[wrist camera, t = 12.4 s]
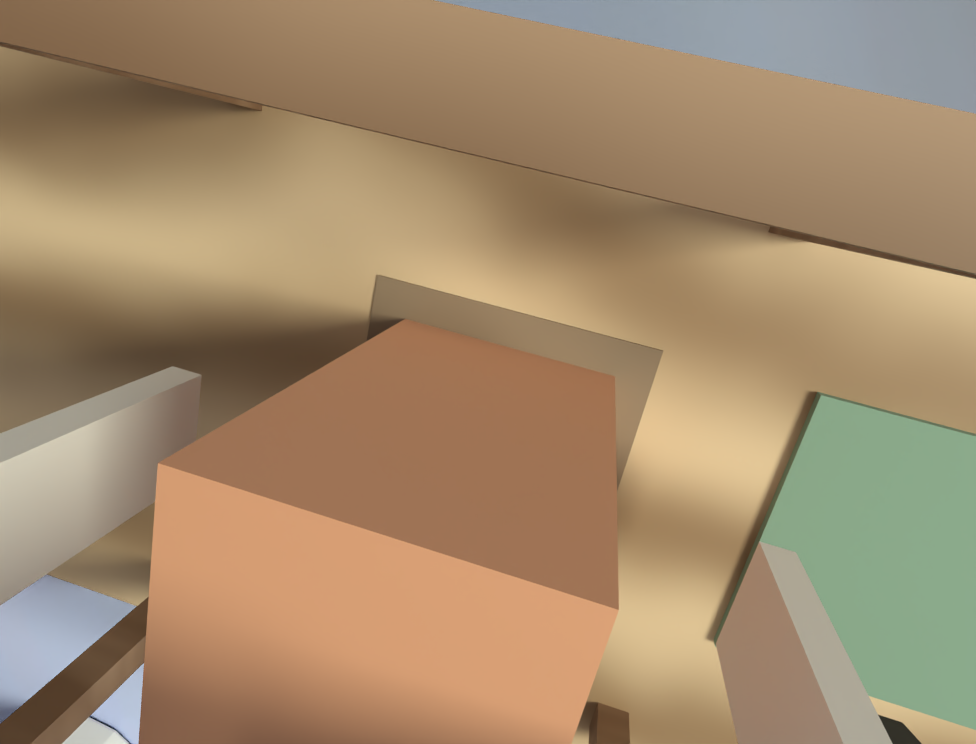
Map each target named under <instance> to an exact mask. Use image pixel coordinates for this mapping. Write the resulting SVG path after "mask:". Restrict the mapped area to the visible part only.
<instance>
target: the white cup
mask: <svg viewBox="0 0 976 744" xmlns="http://www.w3.org/2000/svg"><path fill="white" fill-rule="evenodd" d="M62 744H130V743H129V742H127V741H126V740H125V739H124V738H123V737H122V736H121V735H120V734H119V733H118V732H117V731H115V730H114V729H112V728H110V727H108V726H106V725H104V724H102V723H100V722H98V721H96V720H94V719H92V718H90V717H88V718H87V719H86V720H85V721H84V722H83V723H82V724H81V725H80V726H79V727H78V728H77V729H76V730H75V731H74V732H73V733H72V734H71V735H70V736H69V737H68V738H67V739H66V740H65V741H64V742H63V743H62Z"/></svg>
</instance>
